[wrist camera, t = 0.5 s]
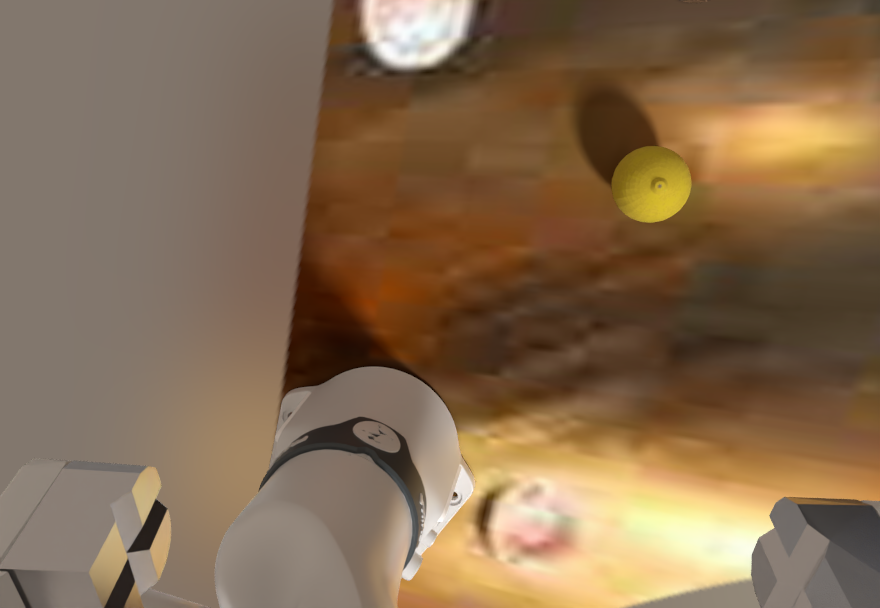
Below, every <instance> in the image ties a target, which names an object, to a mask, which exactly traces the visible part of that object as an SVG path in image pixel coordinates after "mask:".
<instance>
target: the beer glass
mask: <svg viewBox="0 0 880 608" xmlns="http://www.w3.org/2000/svg"><path fill="white" fill-rule="evenodd" d="M679 1H682V2H686V3H703V2H707V1H710V0H679Z"/></svg>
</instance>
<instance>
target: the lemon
mask: <svg viewBox="0 0 880 608" xmlns="http://www.w3.org/2000/svg"><path fill="white" fill-rule="evenodd" d="M690 189H691V175H690V172H689V169H688V166H687V165H686V163H685V162H684V160H683V159H682V158H681V157H680V156H679V155H678V154H676V153H675V152H674V151H672V150H669V149H667V148H664V147H659V146H645V147H642V148H639V149H636V150H634V151H632V152H631V153H629V154H628V155H626V156H625V157H624V158H623V159H622V160H621V161H620V162H619V164H618V166H617V167H616V169H615V171H614V174H613V177H612V186H611V190H612V194H613V198H614V200H615V202H616V204H617V206H618V207H619V209H620V210H621V211H622V212H623V213H624V214H626V215H627V216H629V217H630V218H632V219H634V220H637V221H641V222H651V223H652V222H658V221H662V220H665V219H667V218H669V217H671V216H673V215H674V214H675V213H677V212H678V211H679V210H680V209H681V208H682V206H683V205H684V204H685V203H686V201H687V198H688V196H689V194H690Z"/></svg>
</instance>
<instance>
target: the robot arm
mask: <svg viewBox="0 0 880 608" xmlns="http://www.w3.org/2000/svg"><path fill="white" fill-rule="evenodd" d="M290 412H292V414H291V415H290ZM161 486H162V485H161V482H160V479H159V475H158V472H157V469H156V468H154V467H150V466H139V465H126V464H111V463H100V462H87V461H67V460H52V459H37V458H34V459H33V460H31V461H30V462H28V463H27V464H25V465H24V466H22V467H21V468H20V470H19V471H18V472H17V474H16V475H15V477H14V478H13V479H12V481H11V482H10V484H9V485H8V486H7V488H6V489H5V490H4V492H3V493H2V495H1V496H0V608H210V607H207V606H204V605H200V604H197V603H194V602H190V601H188V600H185V599H182V598H178V597H175V596H172V595H169V594H166V593H163V592H160V591H156V590H153V589H150V587H152V586H153V585H154V584H155V583H156V582H158V581H159V579H160V576H161V573H162V571H163V568H164V566H165V563H166V561H167V556H168V551H169V545H170V540H171V520H170V516H169V512H168V508H166V507H165V506H164V505H163V504H161V503H160V502H159V501H158V500H157V499H156V497H157V495H158V492H159V490H160V488H161ZM474 488H475V479H474V476H473V474H472V472H471V470H470V469H469V467H468V465H467V464H466V462H465V461H464V459H463V458H462V456H461V453H460V449H459V443H458V436H457V431H456V427H455V424H454V421H453V419H452V417H451V414H450V412H449V411H448V409H447V407H446V406H445V404H444V403H443V401H442V400H441V399H440V397H439V396H438V395H437V394H436V393H435V392H434V391H433V390H432V389H431V388H430V387H428V386H427V385H426V384H425V383H423V382H422V381H420V380H419V379H417V378H415V377H413V376H411V375H409V374H407V373H405V372H402V371H399V370H396V369H391V368H386V367H361V368H356V369H352V370H349V371H346V372H343V373H341V374H339V375H337V376H335V377H334V378H332V379H330V380H328V381H327V382H325V383H323V384H321V385H318V386H310V387H301V388H296V389H293V390H291V391H289V392H288V393H287V394H286V395H285V397H284V398H283V400H282V404H281V409H280V414H279V419H278V424H277V429H276V434H275V440H274V445H273V450H272V455H271V460H270V465H269V470H268V471H267V474H266V475H265V477H264V479H263V481H262V483H261V485H260V488H259V491H258V493H257V494H256V495H255V497H254V498H253V499H252V500H251V502H250V503H249V504H248V505H247V506H246V507H245V509H244V510H243V511H242V512H241V513H240V515H239V516H238V517H237V518H236V520H235V521H234V522H233V523H232V524H231V526H230V527H229V529H228V530H227V532H226V534H225V536H224V538H223V540H222V543H221V545H220V548H219V551H218V555H217V559H216V565H215V586H216V593H217V597H218V601H219V605H220V608H398V605H397V599H398V592H399V586H400V581H401V578H404V579H405V580H408V581H409V580H411V579H412V578H413V576H414V575H415V574H416V572H417V570H418V569H419V567H420V565H421V563H422V560H423V558H422V557H421V554H422V553H423V552H424V551H425V550H426V548H427V547H430V546H431V545H432V544H433V542H434V541H435V539H436V537H437V535H438V534H439V533H440V532H441V531H442V529H443V528H444V527H445V526H446V525H447V523H448V522H449V521H450V520H451V519H452V517H453V516H454V515H455V514H456V513H457V511H458V510H459V509H460V508H461V507H462V505H463V504H464V503H465V502H466V501H467V499H468V498H469V497H470V496H471V494H472V492H473V490H474ZM454 492H456V493H457V494H458V495H457V496H455V497H453V493H454ZM769 516H770V518H771V521H772V523H773V525H774V527H775V528H774V529H772V530H771V531H769V532H767V533H766V534H764V535H763V536H761V537H760V538H759V539H758V541H757V544H756V546H755V548H754V551H753V553H752V569H751V576H752V581H753V586H754V590H755V594H756V596H757V599H758V601H759V604H760V607H761V608H880V501H864V500H863V501H858V500H851V499H825V498H798V497H784V498H782V499H781V500H779V501H778V502H776V504H775V505H774V507H773V509H772V511H771V513H770V515H769Z"/></svg>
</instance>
